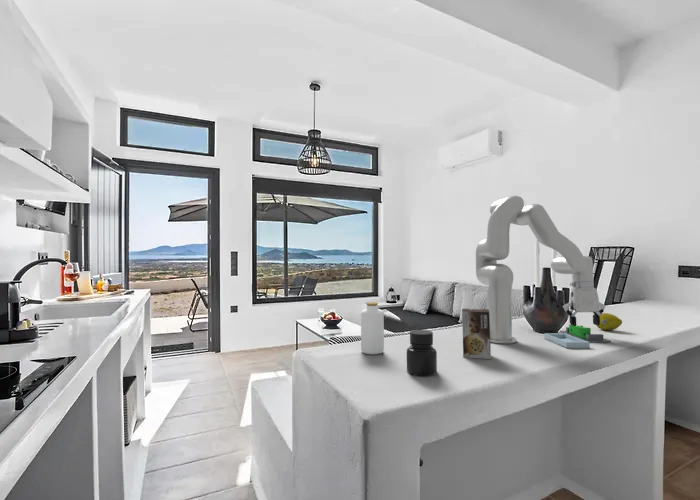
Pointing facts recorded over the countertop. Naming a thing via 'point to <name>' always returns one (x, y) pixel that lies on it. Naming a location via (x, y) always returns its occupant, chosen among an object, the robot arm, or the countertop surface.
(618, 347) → the countertop surface
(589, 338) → the rack rail
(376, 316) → the white bottle
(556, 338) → the parts tray
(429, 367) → the ink bottle
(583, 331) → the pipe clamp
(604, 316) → the lemon
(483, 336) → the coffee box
